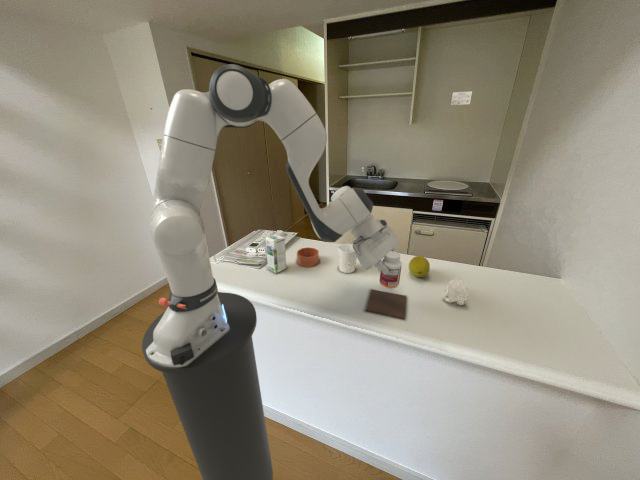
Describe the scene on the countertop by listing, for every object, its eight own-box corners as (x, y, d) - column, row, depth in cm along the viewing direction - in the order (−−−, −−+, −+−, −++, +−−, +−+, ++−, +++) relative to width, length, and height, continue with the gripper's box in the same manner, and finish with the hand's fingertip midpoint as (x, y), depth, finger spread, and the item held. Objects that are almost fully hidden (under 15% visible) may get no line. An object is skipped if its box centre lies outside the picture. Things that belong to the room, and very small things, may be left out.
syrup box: (267, 269, 108) (264, 237, 102) (278, 263, 112) (275, 233, 106) (276, 273, 104) (273, 241, 98) (287, 268, 109) (285, 236, 102)
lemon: (409, 267, 109) (412, 250, 105) (429, 271, 105) (432, 254, 102) (404, 279, 100) (407, 261, 97) (425, 285, 97) (429, 266, 93)
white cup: (333, 268, 108) (334, 247, 104) (347, 262, 113) (348, 241, 108) (346, 276, 103) (347, 254, 98) (360, 269, 107) (361, 248, 103)
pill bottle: (386, 276, 87) (389, 248, 83) (402, 284, 83) (407, 254, 79) (375, 284, 84) (378, 254, 79) (391, 292, 80) (396, 261, 75)
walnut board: (404, 319, 80) (404, 318, 80) (365, 311, 83) (365, 309, 83) (405, 296, 90) (405, 295, 90) (371, 290, 94) (371, 289, 93)
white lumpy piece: (449, 283, 82) (447, 268, 93) (444, 305, 85) (442, 288, 96) (471, 287, 80) (466, 271, 91) (465, 310, 83) (461, 292, 94)
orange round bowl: (314, 268, 108) (314, 258, 106) (293, 264, 111) (293, 255, 109) (321, 258, 116) (321, 249, 114) (301, 254, 119) (301, 246, 117)
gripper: (357, 238, 72) (386, 279, 71) (388, 218, 87) (412, 251, 85) (343, 248, 77) (370, 286, 75) (375, 227, 91) (398, 259, 90)
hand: (392, 268), depth 80 cm, fingers closed on pill bottle, 6 cm apart
